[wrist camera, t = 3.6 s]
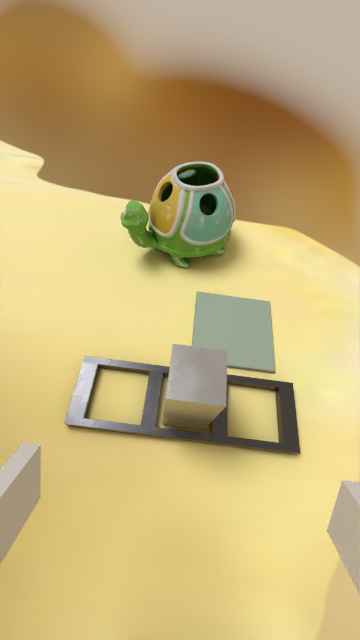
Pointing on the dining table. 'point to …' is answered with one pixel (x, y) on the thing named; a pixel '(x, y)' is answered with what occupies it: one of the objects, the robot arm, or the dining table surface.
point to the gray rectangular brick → (195, 386)
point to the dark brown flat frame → (148, 428)
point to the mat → (235, 330)
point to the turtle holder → (185, 214)
